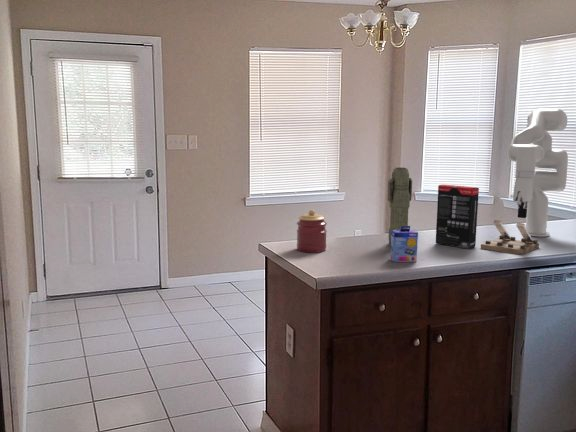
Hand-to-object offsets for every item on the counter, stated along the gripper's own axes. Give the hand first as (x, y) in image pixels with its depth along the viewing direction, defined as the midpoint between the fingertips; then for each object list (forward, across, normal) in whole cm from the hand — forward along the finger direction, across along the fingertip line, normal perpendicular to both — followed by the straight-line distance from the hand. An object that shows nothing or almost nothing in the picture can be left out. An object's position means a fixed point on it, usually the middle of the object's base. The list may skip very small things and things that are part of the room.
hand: (522, 217), depth 242 cm
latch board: (+15, -3, -6) cm, 16 cm away
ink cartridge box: (+15, +50, -28) cm, 59 cm away
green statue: (+15, +25, -46) cm, 54 cm away
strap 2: (+8, -5, 0) cm, 9 cm away
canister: (+15, +60, -68) cm, 92 cm away
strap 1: (+8, -5, -10) cm, 14 cm away
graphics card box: (+15, +9, -26) cm, 31 cm away
